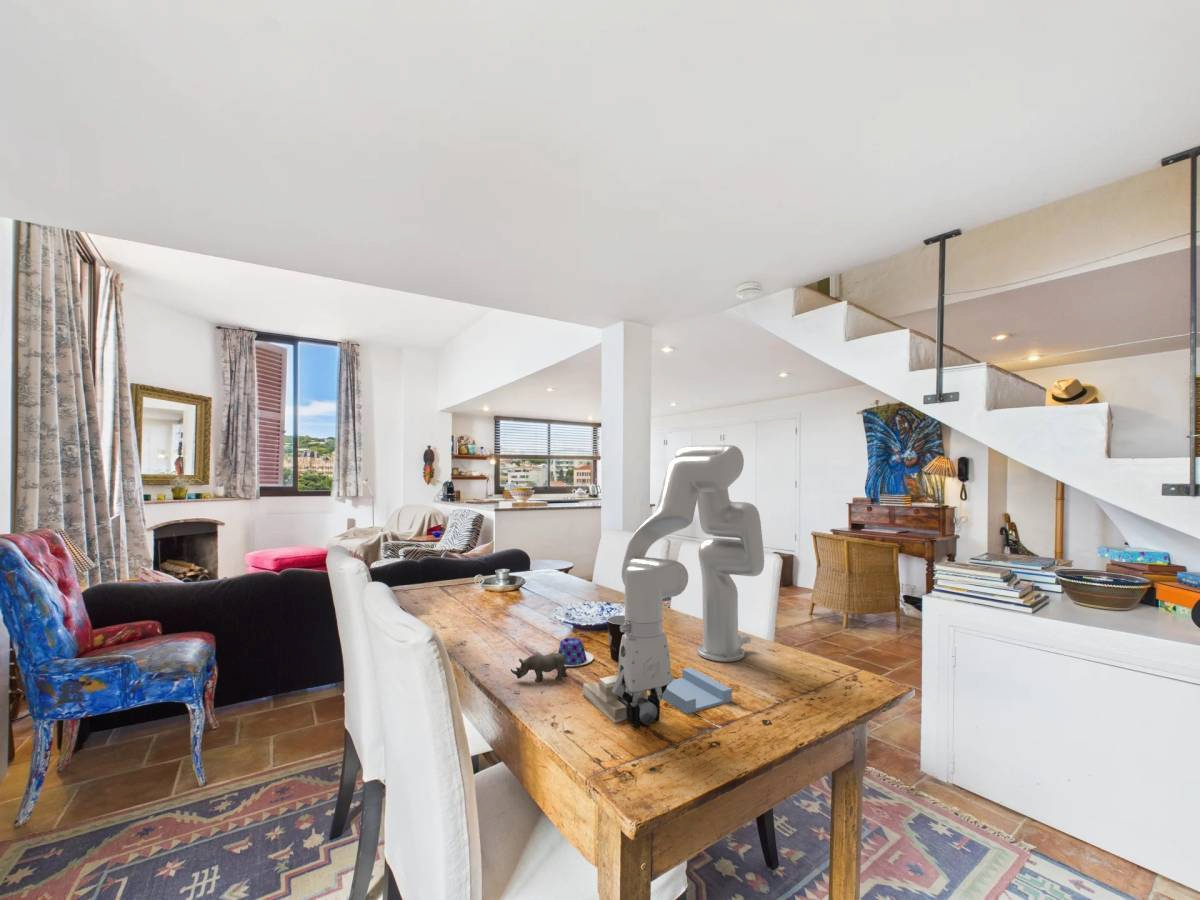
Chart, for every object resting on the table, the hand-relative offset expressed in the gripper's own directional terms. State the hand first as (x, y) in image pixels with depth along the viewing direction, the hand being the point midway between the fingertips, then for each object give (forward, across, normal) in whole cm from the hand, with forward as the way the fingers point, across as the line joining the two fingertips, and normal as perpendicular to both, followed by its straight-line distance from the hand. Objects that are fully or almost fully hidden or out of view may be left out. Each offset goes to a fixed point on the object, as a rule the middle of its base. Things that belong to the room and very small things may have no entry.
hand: (643, 720), depth 99 cm
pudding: (+1, +2, +38) cm, 38 cm away
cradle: (0, +16, +6) cm, 17 cm away
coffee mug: (+1, +16, +34) cm, 37 cm away
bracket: (0, 0, +10) cm, 10 cm away
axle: (-2, 0, +5) cm, 5 cm away
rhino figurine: (+1, -10, +30) cm, 32 cm away
